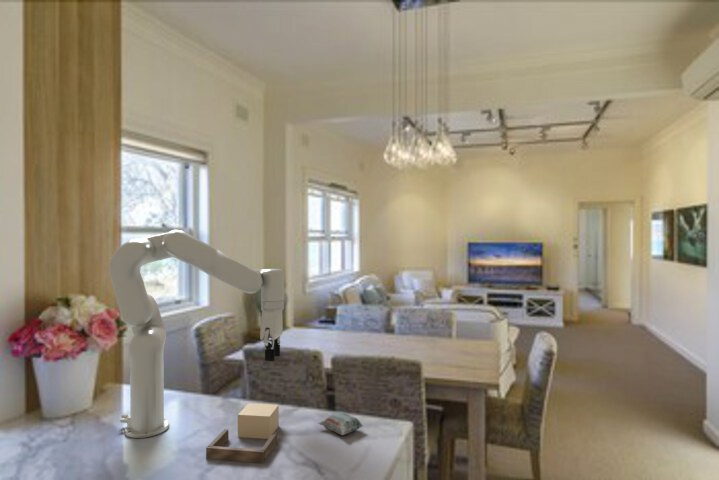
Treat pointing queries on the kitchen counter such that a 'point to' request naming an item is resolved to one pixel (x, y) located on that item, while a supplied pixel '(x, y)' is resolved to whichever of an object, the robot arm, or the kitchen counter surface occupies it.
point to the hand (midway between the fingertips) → (272, 357)
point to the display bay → (239, 450)
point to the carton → (258, 420)
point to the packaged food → (341, 423)
